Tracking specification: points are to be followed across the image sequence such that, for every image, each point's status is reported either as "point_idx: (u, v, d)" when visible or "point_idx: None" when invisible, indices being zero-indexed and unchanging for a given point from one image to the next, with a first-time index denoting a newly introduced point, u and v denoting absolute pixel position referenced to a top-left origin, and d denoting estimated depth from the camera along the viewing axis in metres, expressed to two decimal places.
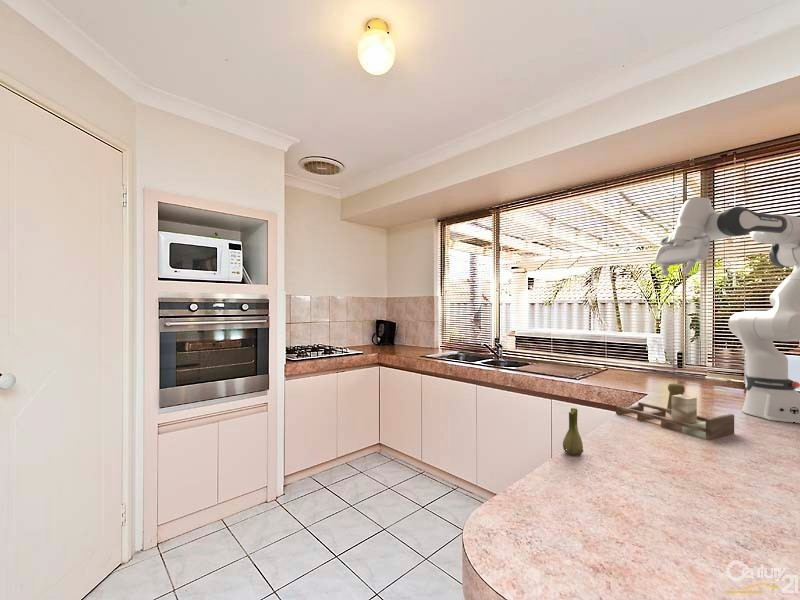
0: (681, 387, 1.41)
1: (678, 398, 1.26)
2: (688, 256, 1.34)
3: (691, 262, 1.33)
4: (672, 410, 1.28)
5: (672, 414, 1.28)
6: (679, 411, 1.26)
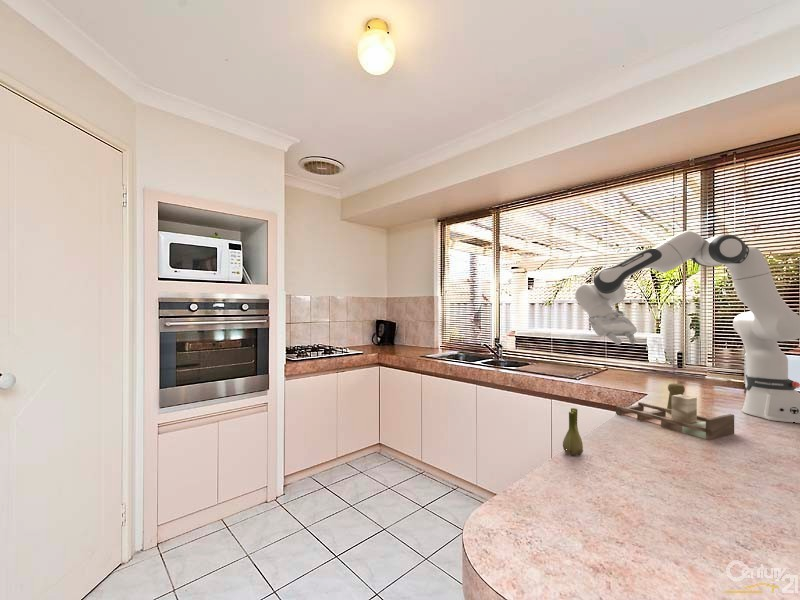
0: (681, 387, 1.41)
1: (678, 398, 1.26)
2: None
3: (608, 337, 1.45)
4: (672, 410, 1.28)
5: (672, 414, 1.28)
6: (679, 411, 1.26)
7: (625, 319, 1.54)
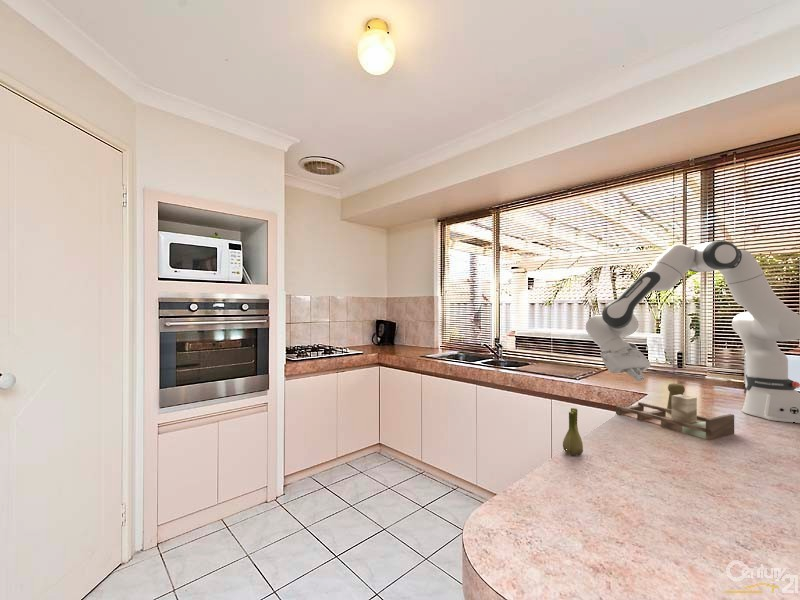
0: (681, 387, 1.41)
1: (678, 398, 1.26)
2: None
3: (628, 373, 1.42)
4: (672, 410, 1.28)
5: (672, 414, 1.28)
6: (679, 411, 1.26)
7: (638, 353, 1.49)
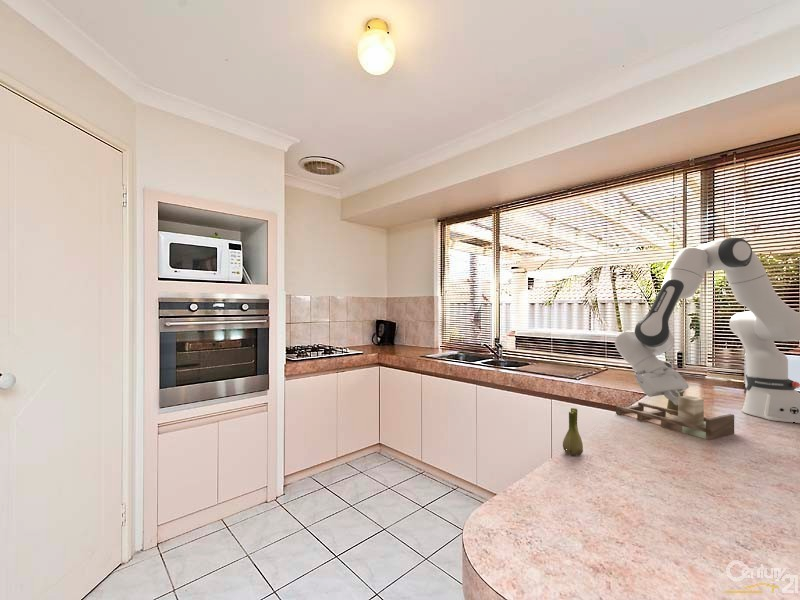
0: None
1: (685, 399, 1.25)
2: None
3: (666, 396, 1.30)
4: (678, 412, 1.26)
5: (678, 416, 1.26)
6: (686, 413, 1.24)
7: (674, 373, 1.37)
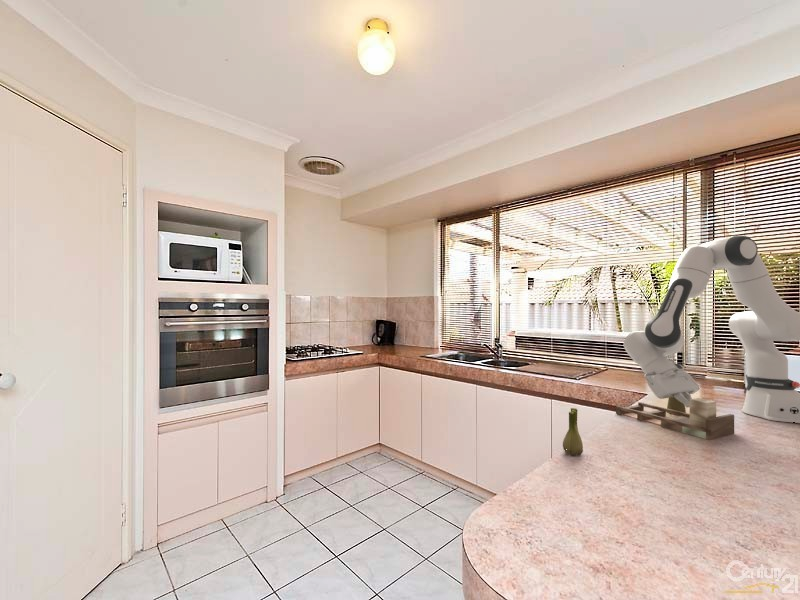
0: None
1: (697, 402, 1.21)
2: None
3: (677, 398, 1.27)
4: (690, 414, 1.23)
5: (690, 418, 1.23)
6: (698, 416, 1.21)
7: (685, 374, 1.34)
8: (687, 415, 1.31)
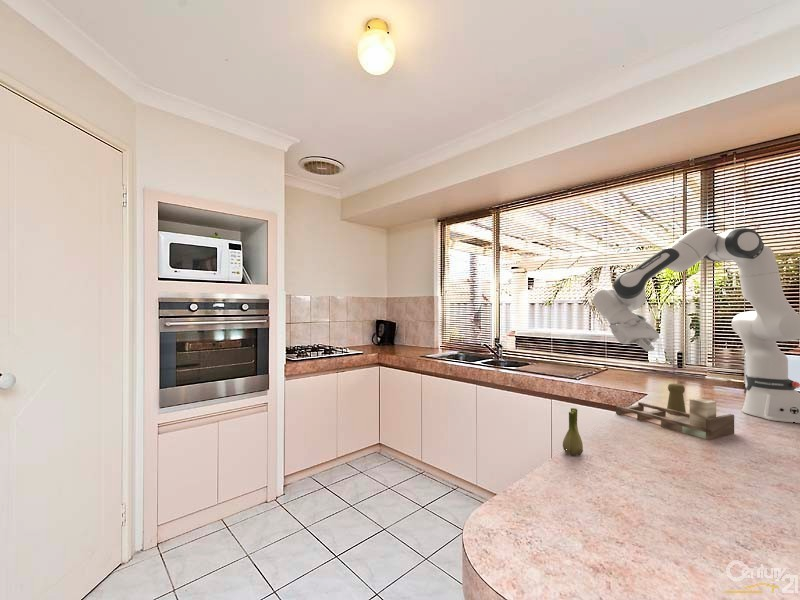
0: (681, 387, 1.41)
1: (697, 402, 1.21)
2: None
3: (638, 344, 1.41)
4: (690, 414, 1.23)
5: (690, 418, 1.23)
6: (698, 416, 1.21)
7: (647, 325, 1.47)
8: (687, 415, 1.31)
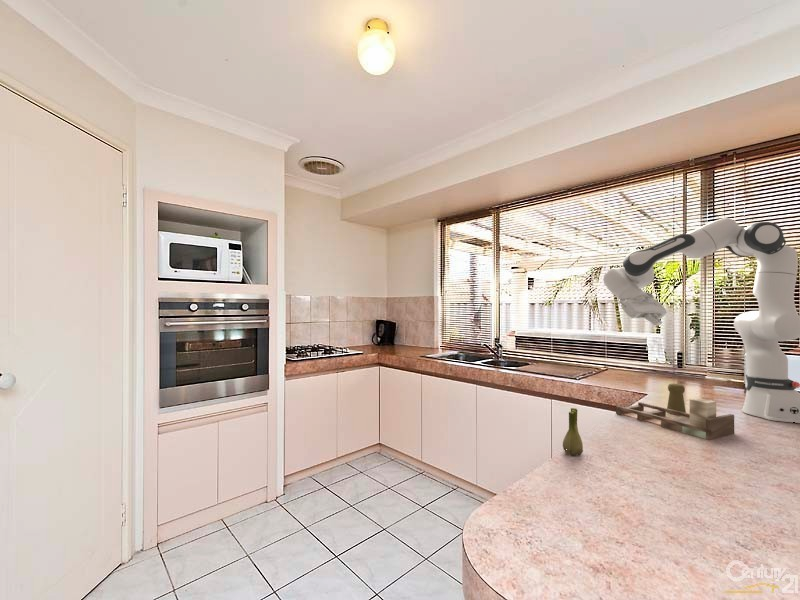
0: (681, 387, 1.41)
1: (697, 402, 1.21)
2: None
3: (646, 318, 1.49)
4: (690, 414, 1.23)
5: (690, 418, 1.23)
6: (698, 416, 1.21)
7: (655, 301, 1.56)
8: (687, 415, 1.31)
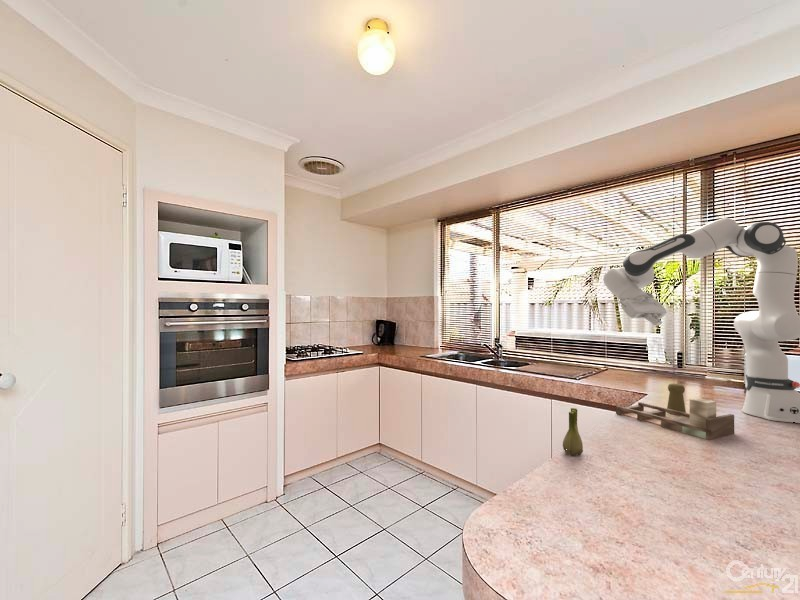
0: (681, 387, 1.41)
1: (697, 402, 1.21)
2: None
3: (646, 318, 1.49)
4: (690, 414, 1.23)
5: (690, 418, 1.23)
6: (698, 416, 1.21)
7: (655, 301, 1.56)
8: (687, 415, 1.31)
